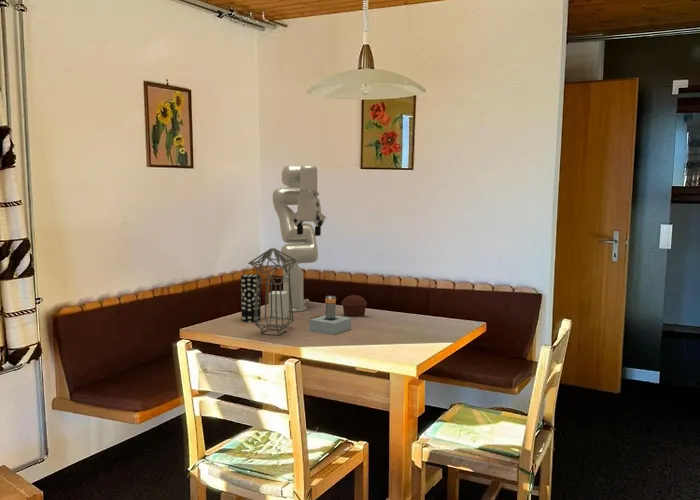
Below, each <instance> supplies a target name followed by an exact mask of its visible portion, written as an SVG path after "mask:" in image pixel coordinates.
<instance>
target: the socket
mask: <svg viewBox="0 0 700 500" xmlns="http://www.w3.org/2000/svg"><path fill="white" fill-rule="evenodd" d="M323 315H324V316H320V317H317V318H313V319H311V318H310V319H309V323H310V324H309V331H310V332H315V333H321V334H327V335H331V336H333V335H337V334H340V333H343V332H346V331H349V330H352V317H348V316H346V317H345V316H339V315H335V320H333V321H330V320H325V317H326V314H323Z"/></svg>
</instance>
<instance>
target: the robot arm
mask: <svg viewBox="0 0 700 500" xmlns="http://www.w3.org/2000/svg"><path fill="white" fill-rule="evenodd" d="M281 182H282V184H283V186H285V187H278V188H275V189H274V190H273V193H272V203H273V207H274V211H275V212H276V214H277V216H278V217H277V218H278V219H279V226H280V232H281V233H280V234H281V238H282V241H283V242H284V243H285V244H284V245H283V246H281V250H280V251H281V252H282V253H284V254H286V255H288V256H290V257H292V258H294V259H296V260H297V261H296V263H295V264H294V265H293V267H292V268H291V269H290V285H291V296H292V308H293V313H295V312H296V313H297V312H303V311H306V310H307V306H306V305H305V304H308V303H309V302H310V300H309V298H304V273H303V270H302V269H301V267H300V266H299V265H300V264H313V263H315V262H317V261H318V258H319V250H318V245H317V239H316V238H317V237H319V236H322V235H321V234H322V228H321V227H322V226H323V224H324V223H325V219H326V217H327V216H325V214H323V213H322V208H321V207H322V206H321V201H320V198H318V196H320V193H319V191H318V167H317V166H315V165H296V164H295V165H286V166H283V168H282V172H281ZM289 206H297V210H296V212H294V211H293V209H292V208H290V207H289ZM304 222H305V223H304ZM306 222H307V223H306ZM311 223H314V225H315V226H313V225H312V224H311ZM286 243H287V244H286ZM280 254H281V253H280ZM281 255H282V256H283V257H284V258H285V259H286V260H289V259H291V258H289V257H287V256H285V255H283V254H281ZM288 262H289V263H290V262H291V261H288ZM282 263H283V262H282ZM282 263H281V264H282ZM283 264H284V263H283ZM283 264H282V265H283ZM285 264H288V263H287V262H285ZM292 264H293V263H292ZM292 264H291V265H290V267H291V266H292ZM285 268H286V267H285ZM287 270H289V265H288V266H287ZM287 273H288V274H287ZM284 274H285V270H284V268H282V277H283V276H284ZM288 275H289V271H288V272H286V274H285V276H284V278H288V279H289V277H288ZM288 279H283V280H282V282H284V283H282V284H283V285H282V286H283V287H282V288H283V289H282V291H288V313H290V312H289V282H288V281H287V280H288ZM285 281H287V282H285ZM290 303H291V300H290ZM291 313H292V311H291Z"/></svg>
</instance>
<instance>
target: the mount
mask: <svg viewBox="0 0 700 500" xmlns="http://www.w3.org/2000/svg"><path fill="white" fill-rule="evenodd" d="M324 315H325V314H319V315H316V316H315V315H314V316H312V317H310V319H313V318H317V317H320V316H324ZM308 325H310V322H309V323H308Z"/></svg>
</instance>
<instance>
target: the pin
mask: <svg viewBox="0 0 700 500" xmlns="http://www.w3.org/2000/svg"><path fill="white" fill-rule="evenodd" d="M324 299H325V300H324V301H325V302H324V303H325V315H326V317H325V320H330V321H333V320H335V316H336V305H337V304H336V303H337V297H336V296H335V295H326V296H325V298H324Z"/></svg>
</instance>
